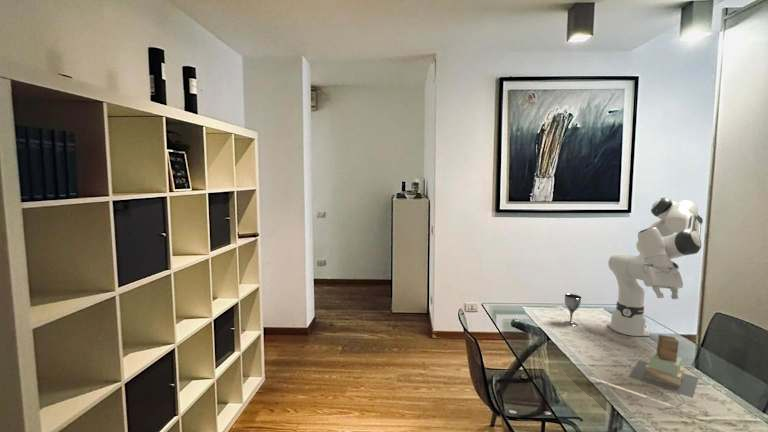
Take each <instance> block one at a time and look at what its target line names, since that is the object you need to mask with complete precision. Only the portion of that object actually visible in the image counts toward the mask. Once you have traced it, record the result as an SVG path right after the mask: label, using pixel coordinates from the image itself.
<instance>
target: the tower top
mask: <svg viewBox="0 0 768 432" xmlns="http://www.w3.org/2000/svg"><path fill="white" fill-rule="evenodd" d="M682 359H683V358H682V357H680V356H677V360H676V362H674V361H667V360H661V359H660V358H659V356H658V355H657V350H653V352H652V354H651V355H650V357H649V361H650V363H649V367H650V368H653V369H657V370H660V371H663V372H666V373H670V374H673V375H676V376H678V373H679V371H680V368H681V367H682Z"/></svg>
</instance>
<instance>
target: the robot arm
mask: <svg viewBox="0 0 768 432" xmlns="http://www.w3.org/2000/svg"><path fill="white" fill-rule="evenodd" d="M650 212H651V214H652V215H653V216H655V217H657V218H658V219H657V220H655V221H654V222H653V223H652V224H651V225H649V227H647V228H646V229H645V228H644V229H642V230H640V231H639V232H638V233H637V242H636V246H635V247H636V250H637V252H639V254H638V255H637V256H636V255H633V254H632V255H631V254H628V253H613V254H612V255H611V256H610V257H609V259H608V267H609V269H610V270H611V272H612V274H614V276H615V278H616V281H617V284H618V295H617V301H616V304H615V305H616V306H615V309H614V310H613V311H612V314H611V319H610V322H608V323H607V324H606V326H607V327H609V328H611V329H612V330H614V332H618V333H620V334H623V335H627V336H633V337H634V336H635V337H650V329H649V325H647V324H646V320H647V319H646V317H645V315H644V313H645V306H644V300H645V291H644V288H643V287H642V286H641V285H640V284H639V283H638V281H637V280H639V281H643V284H644V286H646V287H648V288H649V287H650V288H651V289H652V291H653V292H654V293H655V294H656V298H657V299H663V298H664V297H665V296H664V293H662V291H661V289H669V290H670V292H671V295H670V297H671V300H679V295H678V293H679V289H682V288H683V286H684V283H683V282H684V281H683V278H682V276H681V272H680V270H679V269H680V268H679V265H678V263H676V262H674V260H673V259H678V258H681V257H684V256H689V255H695V254H697V253H699V252H700V250H701V248H702V239H701V232H702V225H703V221H704V220H703V217H701V215H699V214H698V212H699V209H698V206H697V204H696V203H694V202H693V201H691V200H687V199H686V200H680V201H679V200H678V202H677V201H674V200H672V199H671V198H669V197H661V198H658V199H657V200H656V201H654V203H653V204H652V205H651V209H650ZM672 260H673V261H672Z"/></svg>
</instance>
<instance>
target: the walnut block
mask: <svg viewBox="0 0 768 432" xmlns="http://www.w3.org/2000/svg"><path fill="white" fill-rule="evenodd" d="M679 343H680V342H679V340H677V338H675V336H671V335H663V334H658V339H657V345H656V351H657V355H658V356H659V358H660V359H661V360H667V361H674V362H676V360H677V357H678V353H679V351H678V349H679Z"/></svg>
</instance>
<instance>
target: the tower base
mask: <svg viewBox="0 0 768 432" xmlns="http://www.w3.org/2000/svg"><path fill="white" fill-rule="evenodd" d="M649 363H650V360H648V364H647V365H646V367H645V376H644V377H647V378H650V379H653V380H656V381H659V382H662V383H665V384H668V385H671V386H675V387H678V388H679V387H680V384H681V382H682V379H683V374H684V372H685V367H683V366H681V368H680V371H679V373H678V376H676V375H673V374H670V373H666V372H663V371H660V370H657V369H653V368H650V367H649Z"/></svg>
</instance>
